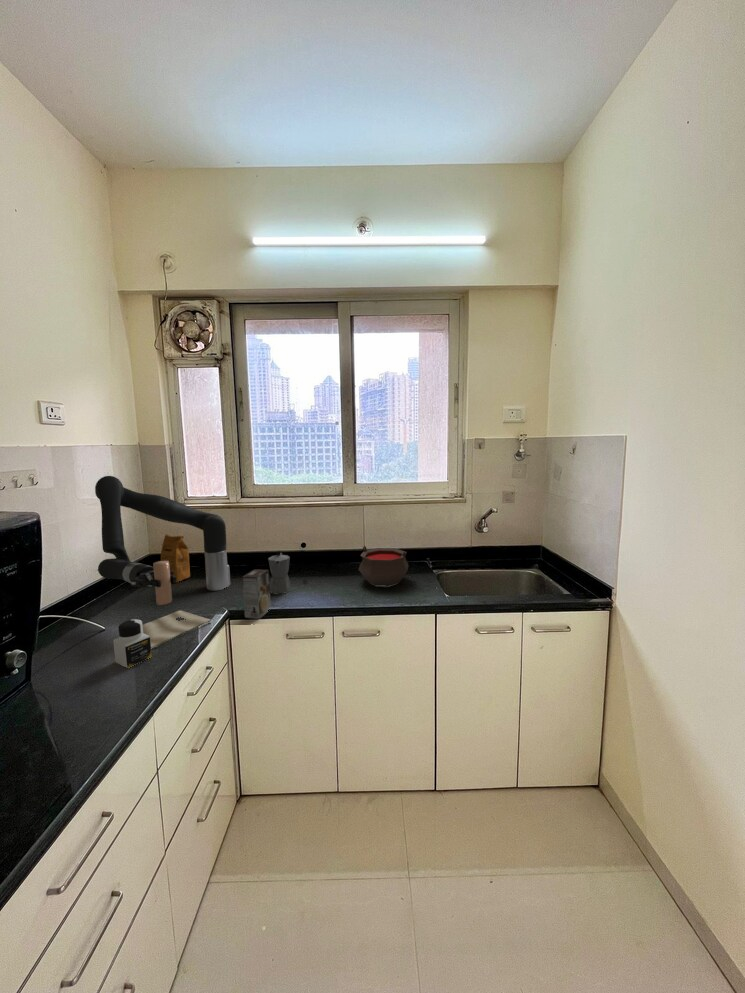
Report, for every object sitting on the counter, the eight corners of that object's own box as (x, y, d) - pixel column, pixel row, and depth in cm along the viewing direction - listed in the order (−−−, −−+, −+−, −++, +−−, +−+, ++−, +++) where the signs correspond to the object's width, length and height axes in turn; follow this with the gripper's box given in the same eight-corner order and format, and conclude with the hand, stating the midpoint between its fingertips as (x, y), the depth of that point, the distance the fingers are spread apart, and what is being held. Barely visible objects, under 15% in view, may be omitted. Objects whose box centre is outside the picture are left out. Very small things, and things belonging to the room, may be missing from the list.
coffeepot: (290, 595, 167) (288, 554, 165) (267, 597, 166) (265, 555, 164) (292, 583, 183) (291, 545, 180) (271, 584, 181) (270, 546, 179)
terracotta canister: (166, 598, 139) (163, 560, 137) (175, 600, 137) (172, 561, 135) (153, 603, 135) (150, 563, 133) (161, 605, 133) (158, 565, 131)
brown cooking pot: (418, 579, 186) (418, 545, 184) (393, 595, 166) (393, 557, 164) (375, 571, 199) (375, 539, 197) (347, 585, 179) (347, 550, 177)
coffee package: (176, 574, 198) (172, 532, 195) (193, 577, 193) (190, 534, 190) (158, 580, 189) (154, 536, 187) (175, 584, 184) (172, 538, 181)
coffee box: (256, 608, 155) (254, 568, 153) (271, 609, 153) (269, 569, 151) (244, 618, 146) (241, 576, 144) (260, 619, 145) (257, 577, 143)
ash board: (180, 613, 151) (180, 610, 151) (211, 622, 142) (211, 619, 142) (120, 637, 132) (120, 633, 132) (151, 650, 123) (151, 646, 123)
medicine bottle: (127, 669, 113) (123, 629, 111) (115, 662, 116) (111, 624, 115) (152, 657, 119) (148, 620, 117) (139, 651, 122) (136, 615, 121)
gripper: (117, 569, 136) (145, 577, 127) (157, 559, 148) (185, 565, 139) (119, 590, 137) (147, 599, 128) (159, 578, 149) (187, 585, 140)
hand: (167, 581), depth 134 cm, fingers closed on terracotta canister, 4 cm apart
